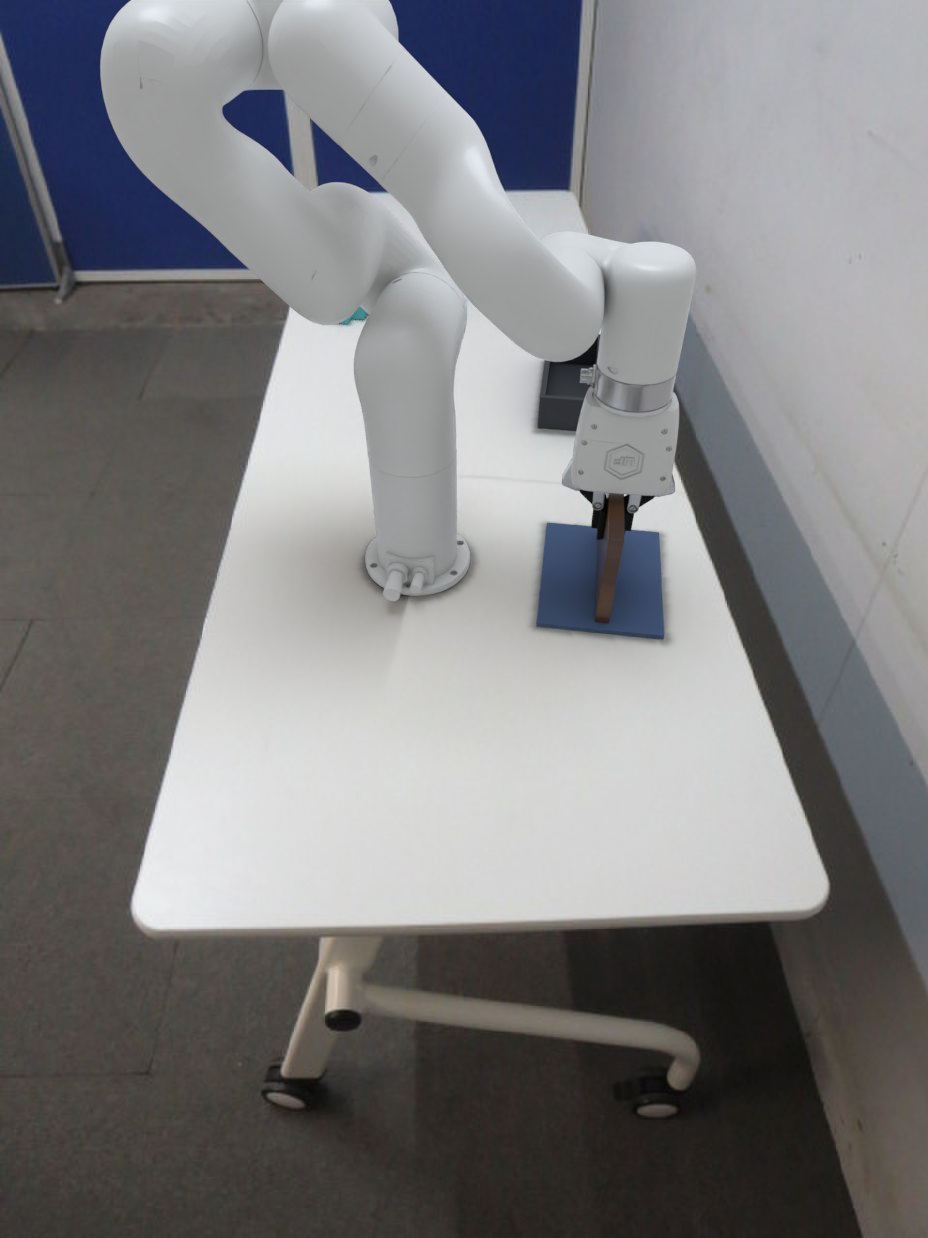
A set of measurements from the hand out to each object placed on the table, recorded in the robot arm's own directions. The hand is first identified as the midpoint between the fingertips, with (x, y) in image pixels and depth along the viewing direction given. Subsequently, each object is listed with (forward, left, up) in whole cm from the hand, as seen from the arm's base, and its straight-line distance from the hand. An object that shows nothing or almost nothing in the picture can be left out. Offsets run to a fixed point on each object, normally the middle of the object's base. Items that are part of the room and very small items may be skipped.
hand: (610, 532), depth 90 cm
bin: (+41, +6, -7) cm, 42 cm away
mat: (0, 0, -7) cm, 7 cm away
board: (0, 0, -7) cm, 7 cm away
